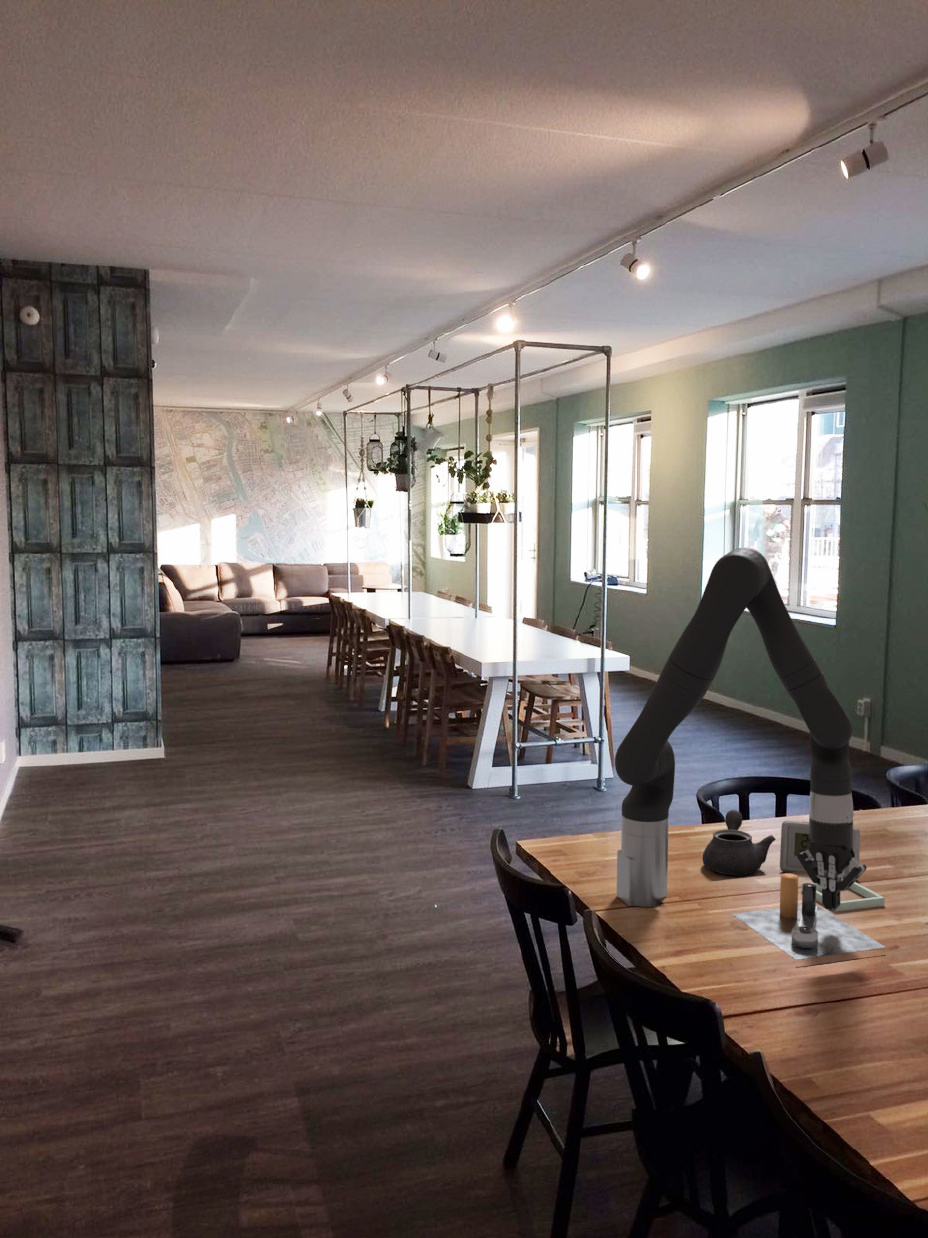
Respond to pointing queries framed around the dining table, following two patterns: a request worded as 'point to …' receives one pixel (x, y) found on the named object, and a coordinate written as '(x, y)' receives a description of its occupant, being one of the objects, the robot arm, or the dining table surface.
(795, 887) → the pin
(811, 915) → the crank
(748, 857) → the teapot
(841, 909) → the tray
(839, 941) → the crank base
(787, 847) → the digital clock
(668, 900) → the dining table surface
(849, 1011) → the dining table surface
